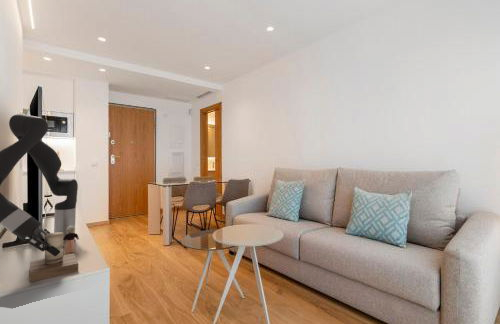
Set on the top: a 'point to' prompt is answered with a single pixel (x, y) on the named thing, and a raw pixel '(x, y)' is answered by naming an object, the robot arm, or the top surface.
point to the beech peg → (57, 242)
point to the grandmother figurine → (70, 240)
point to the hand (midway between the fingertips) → (59, 251)
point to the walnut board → (53, 268)
